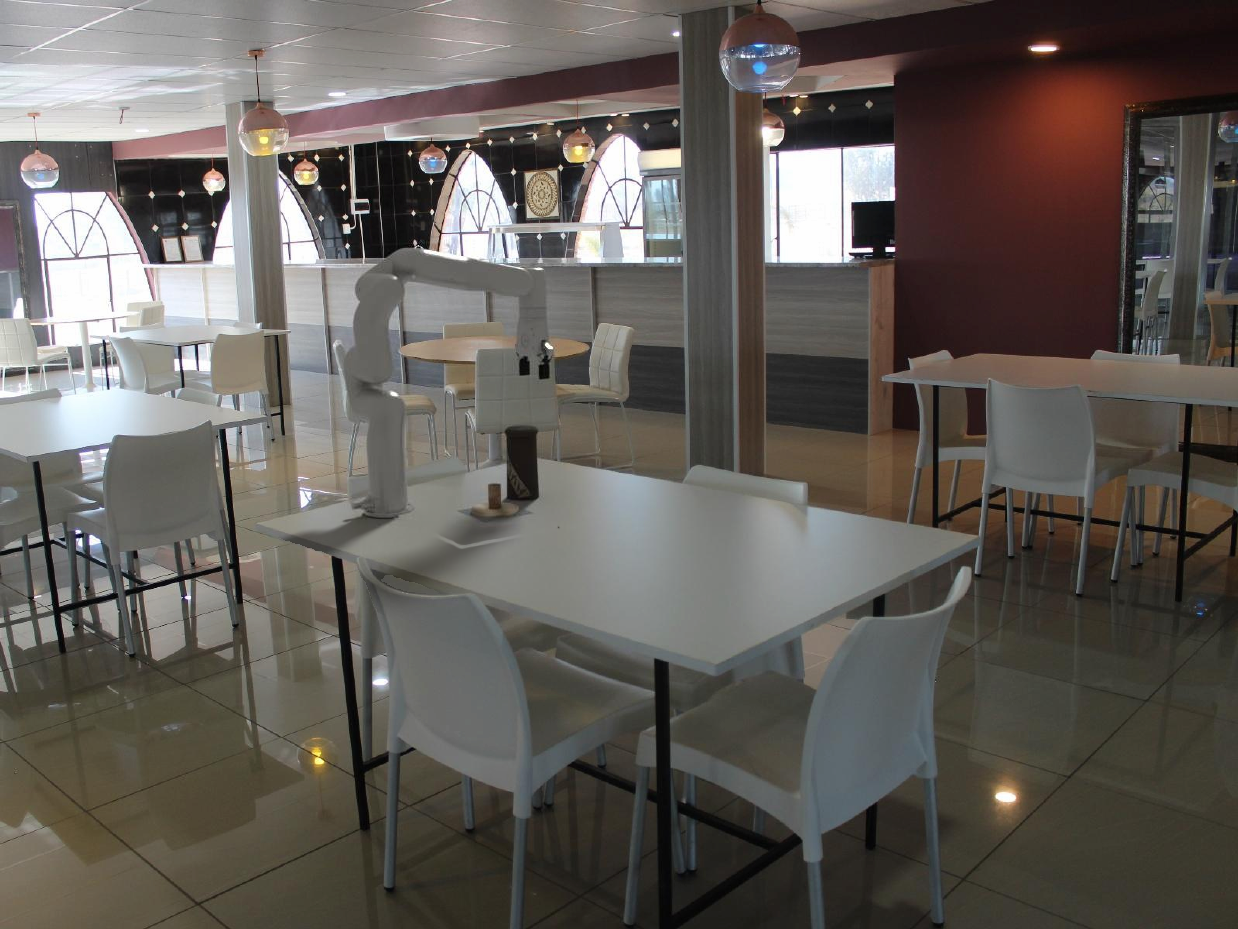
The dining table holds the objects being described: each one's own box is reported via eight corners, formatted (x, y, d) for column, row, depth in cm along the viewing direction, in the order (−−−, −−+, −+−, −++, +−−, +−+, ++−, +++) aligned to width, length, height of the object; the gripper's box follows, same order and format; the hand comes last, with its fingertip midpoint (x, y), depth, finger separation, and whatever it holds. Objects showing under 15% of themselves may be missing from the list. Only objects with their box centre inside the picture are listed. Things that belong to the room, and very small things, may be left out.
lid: (486, 520, 270) (485, 492, 269) (462, 510, 280) (461, 483, 278) (528, 512, 277) (527, 485, 276) (503, 503, 287) (502, 477, 285)
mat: (485, 525, 269) (485, 521, 269) (457, 513, 280) (457, 510, 280) (533, 515, 277) (533, 512, 277) (504, 505, 288) (504, 502, 288)
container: (502, 498, 296) (499, 424, 292) (533, 494, 300) (531, 422, 295) (512, 505, 288) (510, 429, 284) (545, 501, 292) (543, 427, 288)
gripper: (504, 312, 302) (505, 375, 306) (538, 316, 289) (540, 381, 292) (527, 311, 307) (528, 372, 310) (562, 315, 293) (563, 379, 297)
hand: (534, 377), depth 301 cm, fingers open, 9 cm apart
